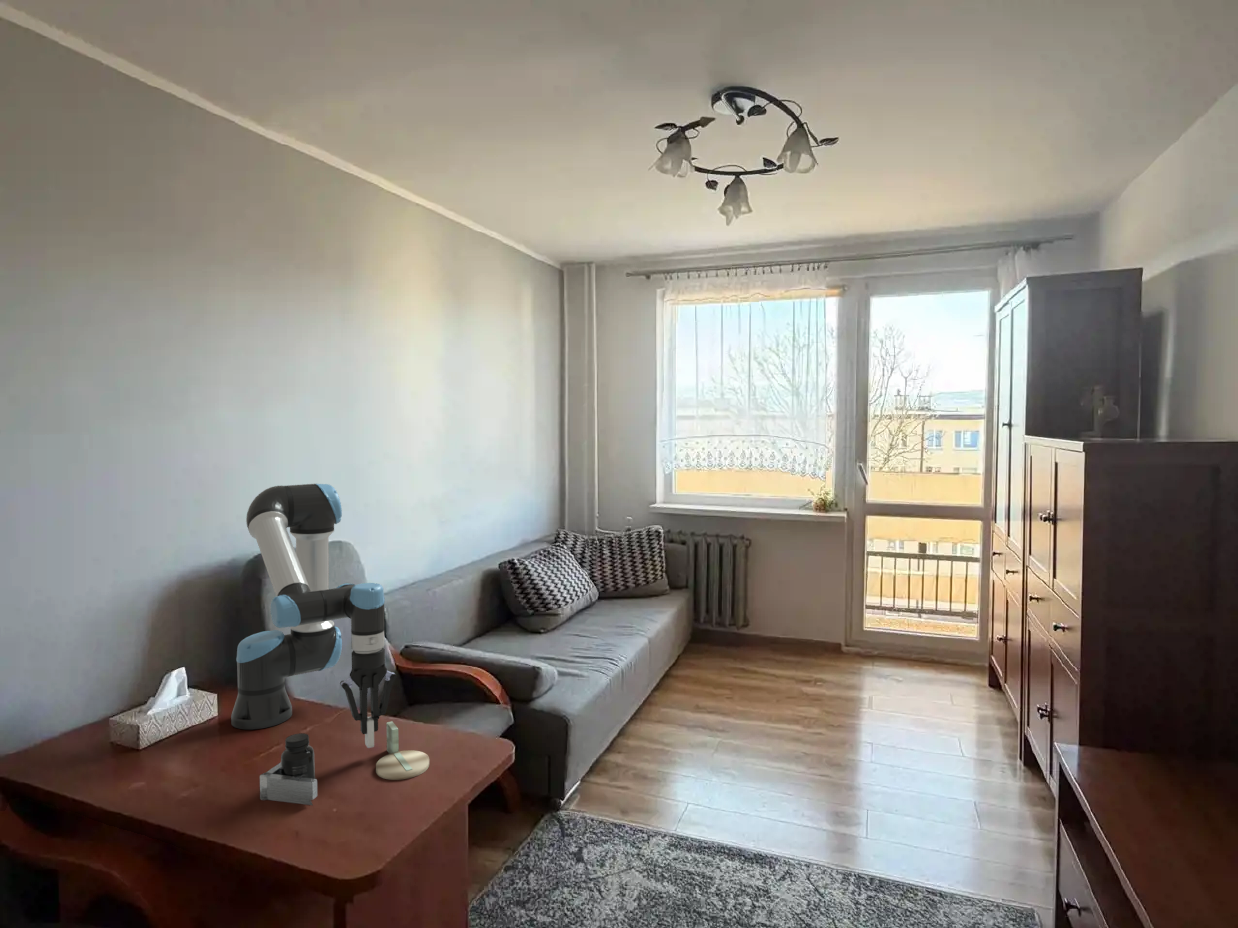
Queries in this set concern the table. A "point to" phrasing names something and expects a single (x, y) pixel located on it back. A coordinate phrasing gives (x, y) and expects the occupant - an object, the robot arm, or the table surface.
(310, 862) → the table surface
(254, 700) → the robot arm
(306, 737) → the supplement bottle
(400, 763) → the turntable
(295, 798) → the vee block
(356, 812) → the table surface
